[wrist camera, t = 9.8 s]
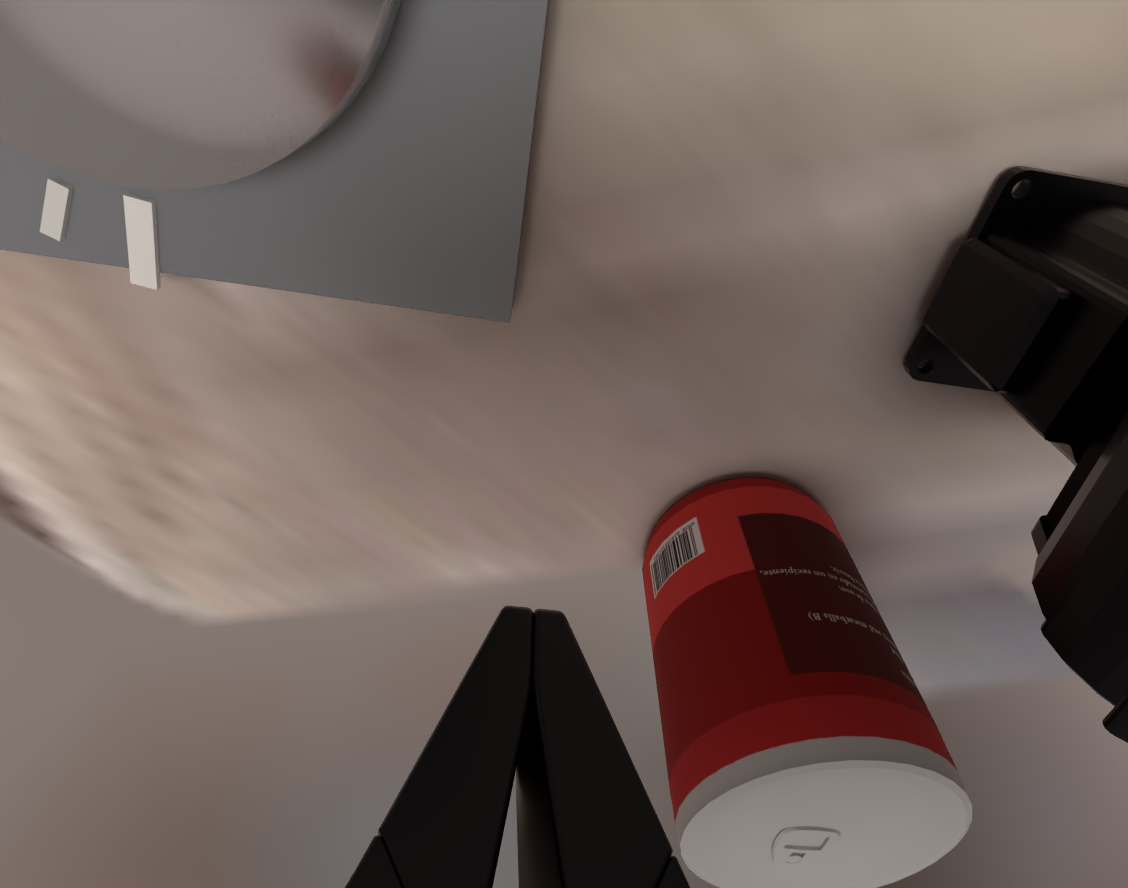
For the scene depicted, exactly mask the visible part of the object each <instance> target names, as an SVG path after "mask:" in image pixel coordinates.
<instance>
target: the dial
mask: <svg viewBox="0 0 1128 888" xmlns="http://www.w3.org/2000/svg"><path fill="white" fill-rule="evenodd" d="M400 2H401V0H0V140H1V141H2V142H4V143H6V144H8V145H9V146H11V147H13V148H16V149H18V150H20V151H22V152H24V153H26V154H28V155H30V156H33V157H35V158H37V159H39V160H41V161H43V162H45V163H48V164H50V165H53V166H56V167H59V168H61V169H64V170H67V171H70V172H73V173H76V174H78V175H81V176H84V177H87V178H91V179H96V180H100V181H104V182H109V183H113V184H117V185H121V186H128V187H137V188H147V189H156V190H172V189H195V188H201V187H207V186H213V185H219V184H225V183H228V182H231V181H234V180H237V179H240V178H243V177H246V176H249V175H252V174H254V173H256V172H258V171H260V170H262V169H264V168H266V167H268V166H270V165H272V164H273V163H275V162H277V161H279V160H281V159H283V158H284V157H286V156H288V155H289V154H291V153H292V152H294V151H296V150H297V149H299V148H300V147H302V146H304V145H305V144H307V143H308V142H310V141H311V140H312V139H314V138H315V137H316V136H318V135H319V134H320V133H322V132H323V131H324V130H325V129H327V128H328V127H329V126H331V125H332V124H333V123H334V122H335V121H336V120H337V119H338V118H339V117H340V116H341V114H342V113H343V112H344V111H345V110H346V109H347V108H348V107H349V106H350V105H351V104H352V103H353V102H354V100H355V99H356V97H357V96H358V94H359V93H360V91H361V90H362V89H363V87H364V86H365V84H366V83H367V81H368V80H369V78H370V77H371V75H372V74H373V72H374V70H375V68H376V65H377V63H378V61H379V59H380V57H381V55H382V53H383V51H384V49H385V47H386V45H387V43H388V40H389V37H390V34H391V31H392V28H393V25H394V22H395V19H396V16H397V13H398V10H399V7H400Z"/></svg>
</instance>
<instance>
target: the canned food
mask: <svg viewBox="0 0 1128 888" xmlns="http://www.w3.org/2000/svg"><path fill="white" fill-rule="evenodd" d="M642 571H643V580H644V588H645V596H646V604H647V612H648V620H649V627H650V635H651V644H652V652H653V660H654V668H655V675H656V683H657V691H658V699H659V707H660V715H661V723H662V731H663V739H664V747H665V755H666V762H667V771H668V779H669V787H670V795H671V799H672V804H673V811H674V820H675V827H676V834H677V837H678V840H679V842H680V848H681V855H682V857H683V859H684V861H685V863H686V865H687V866H688V868H689V869H690V870H692V871H693V872H694V873H695V874H696V875H697V876H698V877H700V878H701V879H703V880H705V881H707V882H709V883H710V884H712V885H715V886H717V887H720V888H877V887H880V886H883V885H886V884H889V883H893V882H895V881H898V880H900V879H903V878H905V877H907V876H910V875H912V874H914V873H917V872H919V871H920V870H922V869H924V868H925V867H927V866H929V865H931V864H932V863H934V862H936V861H937V860H939V859H940V858H941V857H942V856H944V855H945V854H946V853H948V852H949V851H950V850H951V849H952V848H954V847H955V846H956V845H957V843H958V842H959V841H960V840H961V839H962V838H963V836H964V835H965V834H966V832H967V830H968V827H969V825H970V823H971V821H972V805H971V803H970V801H969V798H968V796H967V794H966V792H965V787H964V783H963V781H962V779H961V777H960V774H959V772H958V770H957V768H956V766H955V764H954V762H953V760H952V758H951V756H950V754H949V752H948V750H947V748H946V746H945V743H944V741H943V739H942V737H941V734H940V732H939V730H938V728H937V726H936V724H935V722H934V720H933V718H932V716H931V714H930V712H929V710H928V708H927V706H926V704H925V702H924V700H923V698H922V696H921V694H920V692H919V690H918V688H917V686H916V684H915V682H914V680H913V678H912V676H911V674H910V673H909V671H908V669H907V667H906V665H905V663H904V661H903V659H902V657H901V655H900V653H899V651H898V649H897V647H896V645H895V643H894V641H893V639H892V637H891V635H890V633H889V631H888V629H887V627H886V625H885V623H884V621H883V619H882V617H881V615H880V613H879V611H878V609H877V607H876V605H875V603H874V601H873V599H872V597H871V595H870V594H869V592H868V590H867V588H866V586H865V584H864V582H863V580H862V578H861V576H860V574H859V572H858V570H857V568H856V566H855V564H854V562H853V560H852V558H851V556H850V554H849V552H848V550H847V548H846V546H845V544H844V542H843V540H842V538H841V536H840V534H839V532H838V530H837V528H836V526H835V524H834V522H833V520H832V518H831V517H830V516H829V515H828V514H827V513H826V512H825V510H824V509H823V508H822V507H821V506H820V505H819V504H818V503H816V502H815V501H814V500H813V499H812V498H811V497H809V496H808V495H807V494H805V493H804V492H802V491H801V490H799V489H798V488H796V487H794V486H791V485H789V484H786V483H784V482H781V481H776V480H771V479H766V478H738V479H731V480H725V481H721V482H718V483H714V484H711V485H708V486H705V487H703V488H701V489H699V490H697V491H695V492H692V493H690V494H689V495H687V496H686V497H684V498H683V499H681V500H680V501H678V502H677V503H675V504H674V505H673V506H672V507H671V508H670V509H669V510H668V511H667V512H666V513H665V514H664V515H663V516H662V517H661V519H660V520H659V522H658V523H657V524H656V526H655V527H654V529H653V531H652V534H651V536H650V538H649V541H648V544H647V548H646V552H645V556H644V562H643V569H642Z"/></svg>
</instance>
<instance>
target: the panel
mask: <svg viewBox="0 0 1128 888" xmlns="http://www.w3.org/2000/svg"><path fill="white" fill-rule="evenodd" d="M548 1H549V0H401V2H400V7H399V10H398V13H397V16H396V19H395V22H394V25H393V28H392V31H391V34H390V37H389V40H388V43H387V45H386V47H385V49H384V51H383V53H382V55H381V57H380V59H379V61H378V63H377V65H376V68H375V70H374V72H373V74H372V75H371V77H370V78H369V80H368V81H367V83H366V84H365V86H364V87H363V89H362V90H361V91H360V93H359V94H358V96H357V97H356V99H355V100H354V102H353V103H352V104H351V105H350V106H349V107H348V108H347V109H346V110H345V111H344V112H343V113H342V114H341V116H340V117H339V118H338V119H337V120H336V121H335V122H334V123H333V124H332V125H331V126H329V127H328V128H327V129H325V130H324V131H323V132H322V133H320V134H319V135H318V136H316V137H315V138H314V139H312V140H311V141H310V142H308V143H307V144H305V145H304V146H302V147H300V148H299V149H297V150H296V151H294V152H292V153H291V154H289V155H288V156H286V157H284V158H283V159H281V160H279V161H277V162H275V163H273V164H272V165H270V166H268V167H266V168H264V169H262V170H260V171H258V172H256V173H254V174H252V175H249V176H246V177H243V178H240V179H237V180H234V181H231V182H228V183H225V184H219V185H213V186H207V187H201V188H195V189H172V190H156V189H147V188H137V187H128V186H121V185H117V184H113V183H109V182H104V181H100V180H96V179H91V178H87V177H84V176H81V175H78V174H76V173H73V172H70V171H67V170H64V169H61V168H59V167H56V166H53V165H50V164H48V163H45V162H43V161H41V160H39V159H37V158H35V157H33V156H30V155H28V154H26V153H24V152H22V151H20V150H18V149H16V148H13V147H11V146H9V145H8V144H6V143H4V142H2V141H1V140H0V249H1V250H8V251H15V252H22V253H29V254H36V255H43V256H49V257H56V258H63V259H70V260H77V261H84V262H91V263H98V264H105V265H112V266H119V267H126V268H129V269H130V281H131V283H132V284H136V285H140V286H144V287H147V288H151V289H155V290H158V289H159V288H160V287H161V284H160V272H161V273H168V274H175V275H182V276H189V277H195V278H202V279H209V280H216V281H223V282H230V283H237V284H244V285H251V286H258V287H265V288H272V289H279V290H286V291H293V292H300V293H307V294H314V295H321V296H328V297H335V298H342V299H348V300H355V301H362V302H369V303H376V304H383V305H390V306H397V307H404V308H411V309H418V310H425V311H432V312H439V313H446V314H453V315H460V316H467V317H474V318H481V319H488V320H494V321H501V322H508V323H510V319H511V313H512V306H513V298H514V290H515V281H516V273H517V264H518V256H519V247H520V239H521V230H522V222H523V213H524V205H525V196H526V188H527V179H528V171H529V162H530V154H531V145H532V137H533V129H534V120H535V112H536V103H537V95H538V86H539V78H540V69H541V61H542V52H543V44H544V35H545V27H546V18H547V10H548Z"/></svg>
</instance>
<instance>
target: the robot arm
mask: <svg viewBox="0 0 1128 888" xmlns="http://www.w3.org/2000/svg"><path fill="white" fill-rule="evenodd" d="M1021 180H1023V186H1022V188H1021V189H1020V190H1019V192H1017V193H1015V194H1014V195H1012V189H1013V187H1014V186H1015V185H1016V183H1018V182H1019V181H1021ZM924 360H928V362H927V363H926V364H925V366H923V367H921V368H917V367H918V365H919V364H920V363H921V362H923V361H924ZM904 368H905V370H906V371H907V372H908V373H909V375H910V376H911V377H912V378H913V379H915V380H918V381H925V382H932V383H939V384H946V385H953V386H960V387H967V388H974V389H981V390H988V391H994V392H996V393H997V394H998V395H999V396H1000V397H1001V398H1002V399H1003V400H1004V401H1005V402H1006V403H1007V404H1008V405H1010V406H1011V407H1012V408H1013V409H1014V410H1015V411H1016V412H1017V413H1018V414H1019V415H1020V416H1021V417H1022V418H1023V419H1024V420H1025V421H1026V422H1027V423H1028V424H1030V425H1031V426H1032V427H1033V428H1034V429H1035V430H1036V431H1037V432H1038V433H1039V434H1040V435H1041V436H1042V437H1043V438H1044V439H1045V440H1048V441H1050V442H1051V443H1052V444H1053V445H1054V446H1055V447H1056V448H1057V449H1058V450H1059V451H1060V452H1061V453H1063V454H1064V455H1065V456H1066V457H1067V458H1068V459H1069V460H1070V461H1071V462H1072V463H1073V464H1074V465H1075V466H1076V467H1075V469H1074V471H1073V472H1072V474H1071V476H1070V477H1069V479H1068V481H1067V482H1066V484H1065V486H1064V487H1063V489H1062V491H1061V492H1060V494H1059V496H1058V497H1057V499H1056V501H1055V502H1054V504H1053V506H1052V507H1051V509H1050V511H1049V512H1048V514H1047V515H1045V516H1041V517H1040V518H1039V520H1038V522H1037V523H1036V525H1035V527H1034V528H1033V530H1032V532H1031V535H1032V538H1033V541H1034V544H1035V547H1036V550H1037V553H1038V557H1037V560H1036V564H1035V569H1034V574H1033V579H1032V584H1033V587H1034V590H1035V593H1036V596H1037V599H1038V602H1039V605H1040V608H1041V610H1042V613H1043V615H1044V617H1045V618H1046V619H1045V621H1044V622H1043V624H1042V626H1041V631H1042V633H1043V635H1044V637H1045V638H1046V639H1047V640H1048V642H1049V643H1050V644H1051V645H1052V647H1053V648H1054V649H1055V651H1056V652H1057V653H1058V654H1059V656H1060V657H1061V658H1062V659H1063V661H1064V662H1065V663H1066V664H1067V665H1068V666H1069V668H1070V669H1072V670H1073V671H1074V672H1075V673H1076V674H1077V675H1078V676H1079V677H1080V678H1081V679H1082V680H1083V681H1084V682H1086V683H1087V684H1088V685H1089V686H1090V687H1091V688H1092V689H1093V690H1094V691H1095V692H1096V693H1097V694H1099V695H1100V696H1101V697H1103V698H1104V699H1105V700H1107V701H1108V702H1110V703H1111V704H1112V705H1114V706H1115V707H1114V708H1113V709H1112V711H1111V712H1110V713H1109V714H1108V715H1107V716H1106V717H1105V719H1104V720H1103V725H1104V727H1105V728H1106V729H1107V730H1108V731H1109V732H1110V733H1111V734H1113V735H1114V736H1116V737H1118V738H1120V739H1122V740H1124V741H1126V742H1127V743H1128V185H1124V184H1119V183H1113V182H1107V181H1102V180H1096V179H1090V178H1085V177H1079V176H1074V175H1068V174H1062V173H1057V172H1051V171H1045V170H1040V169H1034V168H1029V167H1015V168H1012V169H1010V170H1008V171H1007V172H1006V173H1004V174H1003V175H1002V176H1001V177H1000V179H999V180H998V181H997V183H996V185H995V187H994V189H993V191H992V192H991V194H990V196H989V198H988V200H987V202H986V204H985V206H984V208H983V210H982V212H981V214H980V216H979V218H978V220H977V221H976V223H975V225H974V227H973V229H972V231H971V233H970V235H969V237H968V239H967V241H966V242H965V243H963V244H962V246H961V247H960V249H959V251H958V253H957V255H956V257H955V259H954V261H953V263H952V265H951V267H950V269H949V271H948V273H947V274H946V276H945V278H944V280H943V282H942V284H941V286H940V288H939V290H938V292H937V294H936V296H935V298H934V300H933V302H932V304H931V306H930V307H929V309H928V311H927V313H926V315H925V317H924V324H923V326H922V328H921V330H920V332H919V334H918V335H917V337H916V339H915V341H914V343H913V345H912V347H911V349H910V351H909V353H908V355H907V357H906V359H905V362H904ZM515 771H516V804H517V805H516V807H517V838H518V839H517V842H518V874H519V888H690V886H689V884H688V881H687V879H686V877H685V875H684V873H683V871H682V868H681V866H680V864H679V862H678V860H677V858H676V857H675V856H672V857H671V855H672V853H673V850H672V847H671V845H670V843H669V841H668V838H667V836H666V834H665V832H664V830H663V828H662V825H661V823H660V821H659V819H658V817H657V814H656V812H655V810H654V808H653V806H652V804H651V802H650V799H649V797H648V795H647V793H646V791H645V788H644V786H643V784H642V782H641V780H640V778H639V775H638V773H637V771H636V769H635V767H634V765H633V762H632V760H631V758H630V756H629V754H628V751H627V749H626V747H625V745H624V743H623V741H622V739H621V736H620V734H619V732H618V730H617V727H616V725H615V723H614V721H613V719H612V716H611V714H610V712H609V710H608V708H607V706H606V704H605V701H604V699H603V697H602V695H601V692H600V690H599V688H598V686H597V684H596V682H595V679H594V677H593V675H592V673H591V671H590V669H589V666H588V664H587V662H586V660H585V658H584V656H583V653H582V651H581V649H580V647H579V645H578V642H577V640H576V638H575V636H574V634H573V632H572V629H571V628H570V625H569V623H568V621H567V618H566V617H565V615H564V614H563V613H562V612H560V611H556V610H546V609H537V610H535V611H534V612H532V610H531V609H530V608H527V607H517V606H505V607H504V608H503V609H502V610H501V611H500V613H499V615H498V617H497V618H496V620H495V622H494V624H493V626H492V627H491V629H490V631H489V633H488V635H487V637H486V638H485V640H484V642H483V644H482V645H481V647H480V649H479V651H478V653H477V654H476V656H475V658H474V660H473V662H472V663H471V665H470V667H469V669H468V670H467V672H466V674H465V676H464V678H463V679H462V681H461V683H460V685H459V687H458V688H457V690H456V692H455V694H454V695H453V697H452V699H451V701H450V703H449V705H448V706H447V708H446V710H445V712H444V714H443V715H442V717H441V719H440V721H439V722H438V724H437V726H436V728H435V730H434V731H433V733H432V735H431V737H430V738H429V740H428V742H427V744H426V746H425V747H424V749H423V751H422V753H421V755H420V756H419V758H418V760H417V762H416V764H415V765H414V767H413V769H412V771H411V772H410V774H409V776H408V778H407V780H406V781H405V783H404V785H403V787H402V789H401V790H400V792H399V794H398V796H397V798H396V799H395V801H394V803H393V805H392V806H391V808H390V810H389V812H388V814H387V816H386V817H385V819H384V821H383V823H382V824H381V826H380V828H379V831H378V834H379V835H377V836H375V837H374V838H373V840H372V841H371V843H370V845H369V847H368V849H367V851H366V852H365V854H364V856H363V858H362V859H361V861H360V863H359V865H358V866H357V868H356V870H355V872H354V873H353V875H352V877H351V878H350V880H349V882H348V883H347V885H346V887H345V888H492V887H493V882H494V876H495V871H496V867H497V862H498V856H499V851H500V846H501V841H502V836H503V831H504V826H505V821H506V816H507V811H508V806H509V801H510V796H511V791H512V786H513V781H514V776H515ZM670 857H671V858H670Z"/></svg>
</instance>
